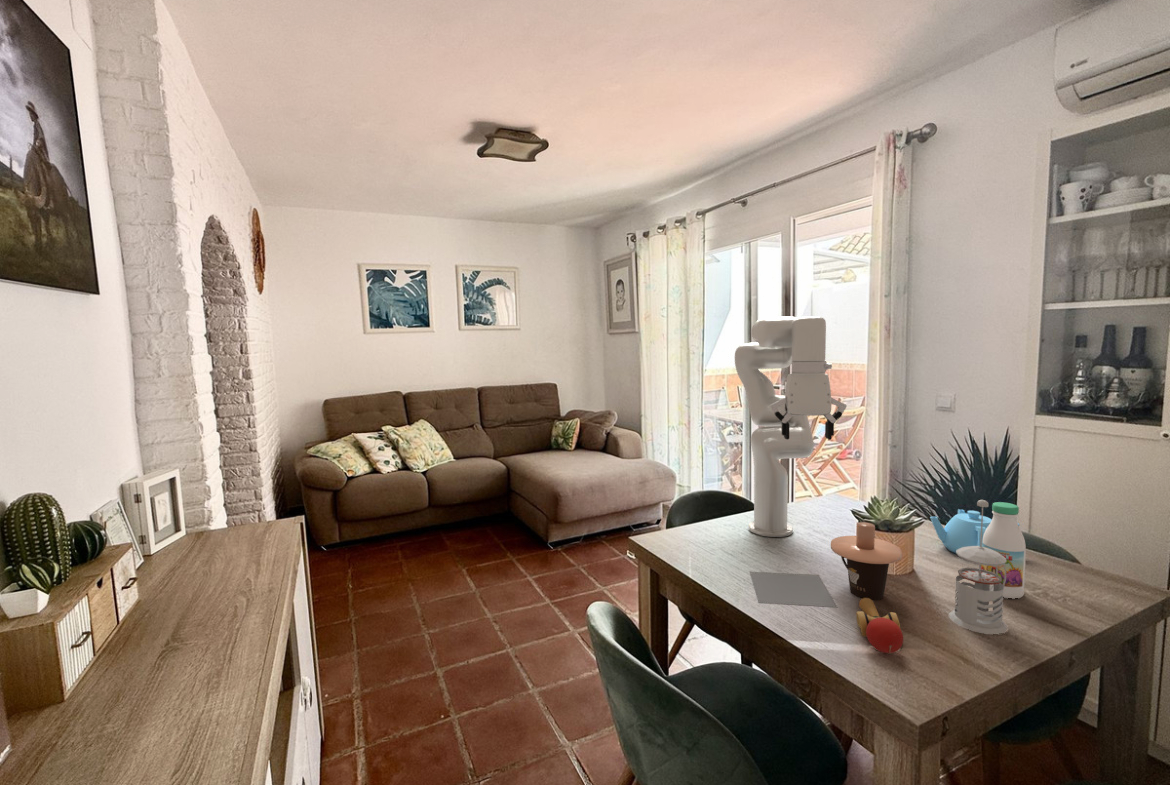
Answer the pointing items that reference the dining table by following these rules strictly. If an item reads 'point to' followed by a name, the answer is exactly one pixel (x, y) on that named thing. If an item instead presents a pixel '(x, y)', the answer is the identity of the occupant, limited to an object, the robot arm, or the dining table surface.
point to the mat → (791, 589)
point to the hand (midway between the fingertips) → (807, 438)
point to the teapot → (962, 530)
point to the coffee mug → (866, 579)
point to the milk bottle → (1007, 548)
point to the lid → (866, 547)
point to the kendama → (879, 627)
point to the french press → (979, 590)
